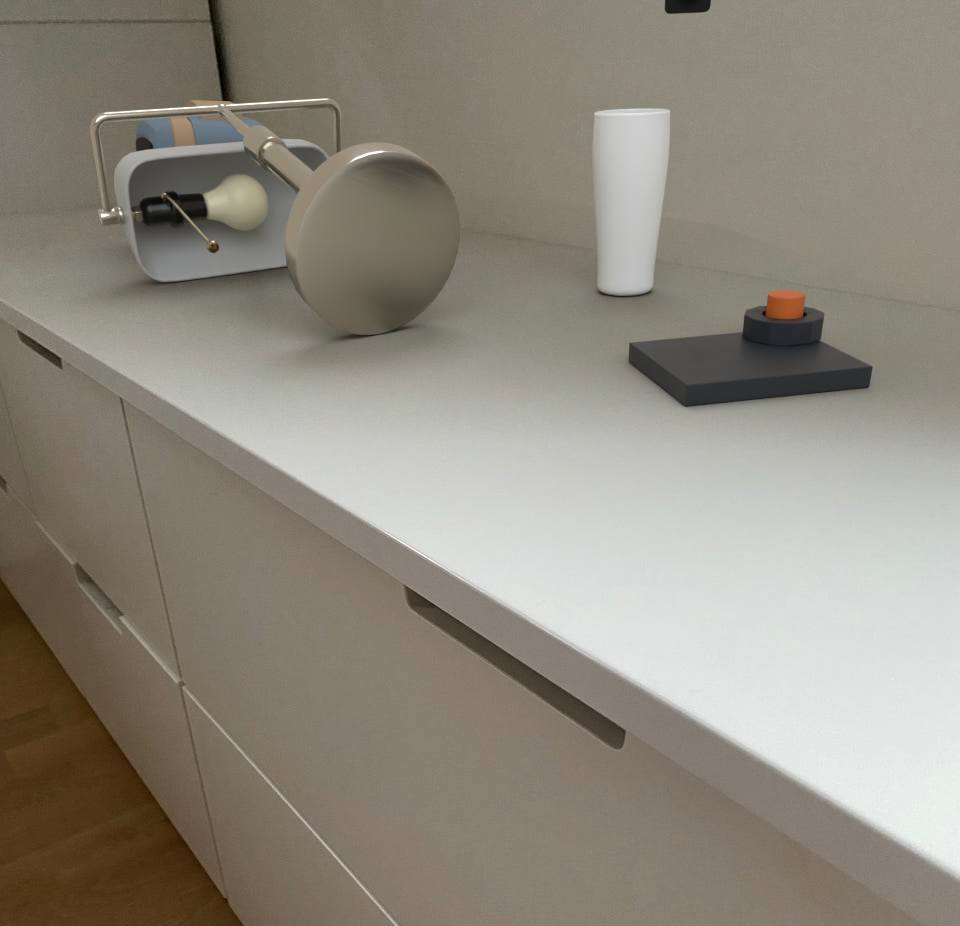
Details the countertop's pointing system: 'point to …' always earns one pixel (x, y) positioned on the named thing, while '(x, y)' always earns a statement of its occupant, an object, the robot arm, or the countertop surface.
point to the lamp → (288, 215)
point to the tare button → (785, 304)
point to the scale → (750, 361)
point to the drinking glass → (628, 195)
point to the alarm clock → (188, 130)
